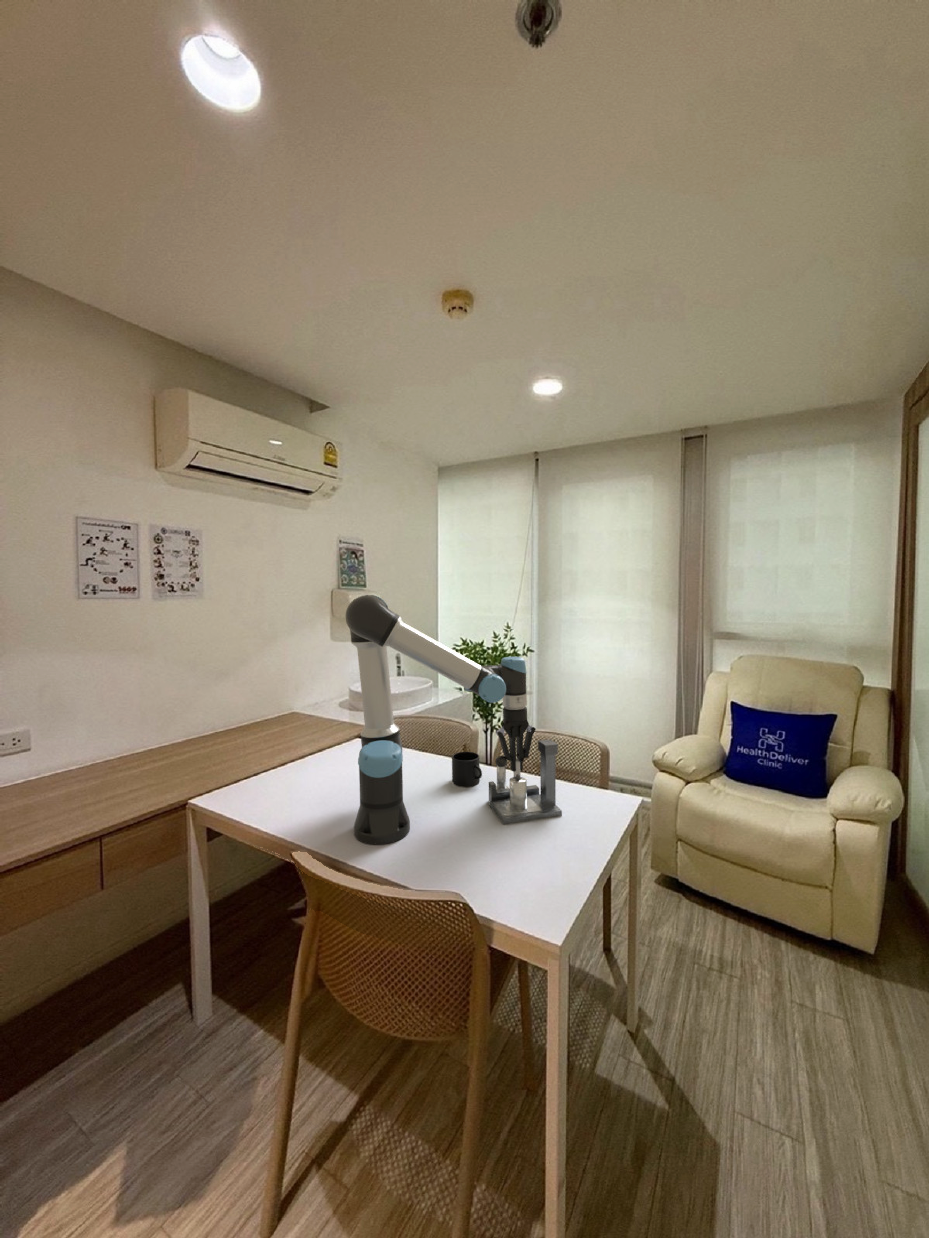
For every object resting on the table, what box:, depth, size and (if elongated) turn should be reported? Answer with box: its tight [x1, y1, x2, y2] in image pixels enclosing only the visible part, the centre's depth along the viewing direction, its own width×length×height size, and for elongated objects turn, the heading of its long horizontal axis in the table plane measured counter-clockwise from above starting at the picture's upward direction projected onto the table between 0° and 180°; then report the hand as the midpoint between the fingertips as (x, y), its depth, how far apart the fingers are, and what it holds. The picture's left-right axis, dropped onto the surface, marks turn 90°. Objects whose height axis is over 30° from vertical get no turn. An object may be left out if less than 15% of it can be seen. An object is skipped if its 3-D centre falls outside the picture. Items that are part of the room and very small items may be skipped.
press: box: [488, 738, 563, 826], centre depth 144 cm, size 18×16×20 cm
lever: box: [494, 755, 510, 793], centre depth 149 cm, size 4×4×11 cm
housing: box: [509, 774, 528, 810], centre depth 142 cm, size 5×5×10 cm
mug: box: [451, 751, 483, 788], centre depth 164 cm, size 9×12×9 cm
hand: (517, 780), depth 151 cm, fingers closed
